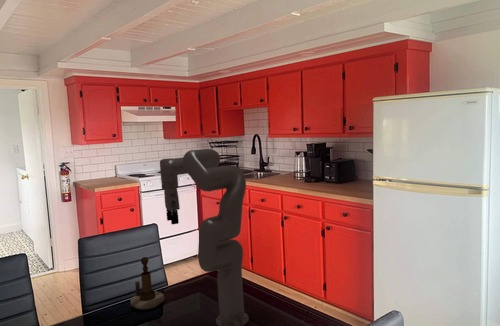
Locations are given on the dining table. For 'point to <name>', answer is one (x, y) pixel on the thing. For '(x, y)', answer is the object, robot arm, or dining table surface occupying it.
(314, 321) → the dining table surface
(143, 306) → the disc
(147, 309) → the turntable base
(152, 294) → the wooden pepper mill
